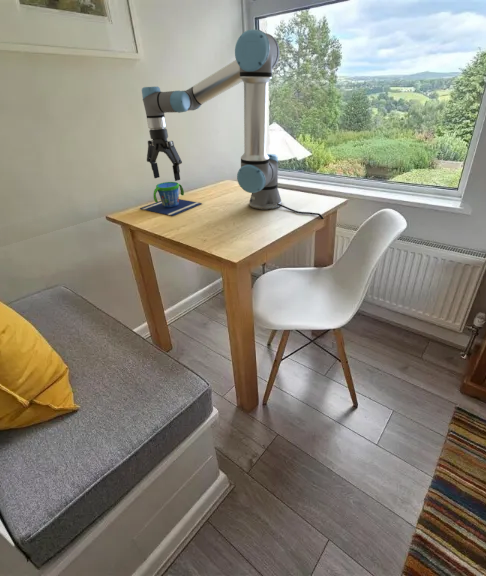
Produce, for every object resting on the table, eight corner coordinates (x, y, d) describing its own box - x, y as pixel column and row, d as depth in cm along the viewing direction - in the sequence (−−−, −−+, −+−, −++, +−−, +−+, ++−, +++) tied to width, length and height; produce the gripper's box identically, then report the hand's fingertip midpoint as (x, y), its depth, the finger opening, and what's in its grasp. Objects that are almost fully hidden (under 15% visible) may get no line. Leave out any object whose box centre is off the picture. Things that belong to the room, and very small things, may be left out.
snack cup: (160, 211, 150) (156, 189, 145) (151, 206, 157) (147, 185, 152) (190, 204, 158) (187, 183, 153) (180, 200, 165) (177, 179, 160)
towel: (201, 204, 160) (201, 203, 160) (172, 216, 146) (172, 215, 145) (170, 198, 170) (169, 197, 170) (140, 209, 156) (139, 208, 156)
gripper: (184, 127, 136) (192, 179, 147) (145, 127, 148) (154, 175, 159) (172, 130, 131) (180, 183, 142) (131, 129, 143) (142, 178, 154)
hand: (167, 179), depth 151 cm, fingers open, 13 cm apart
